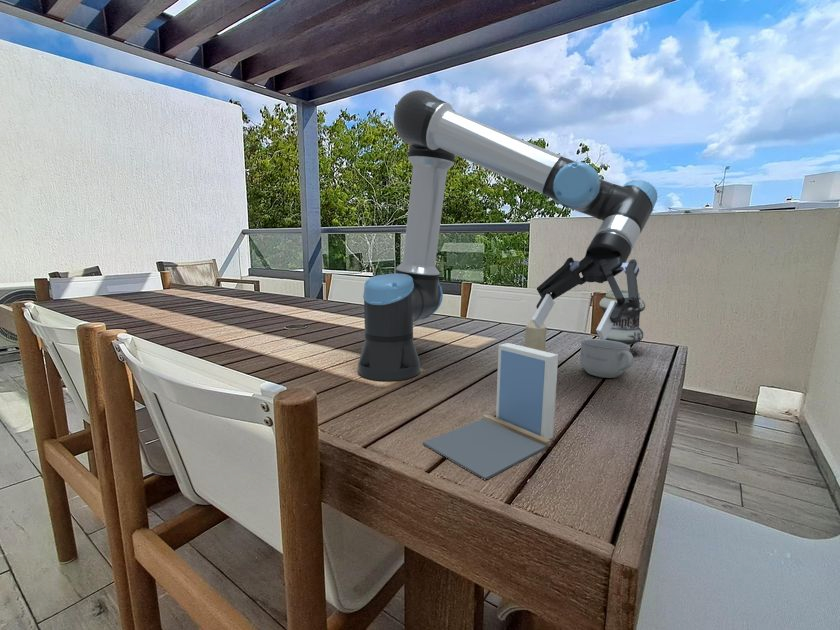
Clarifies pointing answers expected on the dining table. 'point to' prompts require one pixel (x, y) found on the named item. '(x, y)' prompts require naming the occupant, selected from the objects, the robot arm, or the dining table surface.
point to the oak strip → (517, 430)
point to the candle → (535, 336)
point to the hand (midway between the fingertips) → (566, 329)
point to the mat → (484, 448)
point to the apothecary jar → (624, 322)
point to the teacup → (605, 357)
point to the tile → (527, 388)
